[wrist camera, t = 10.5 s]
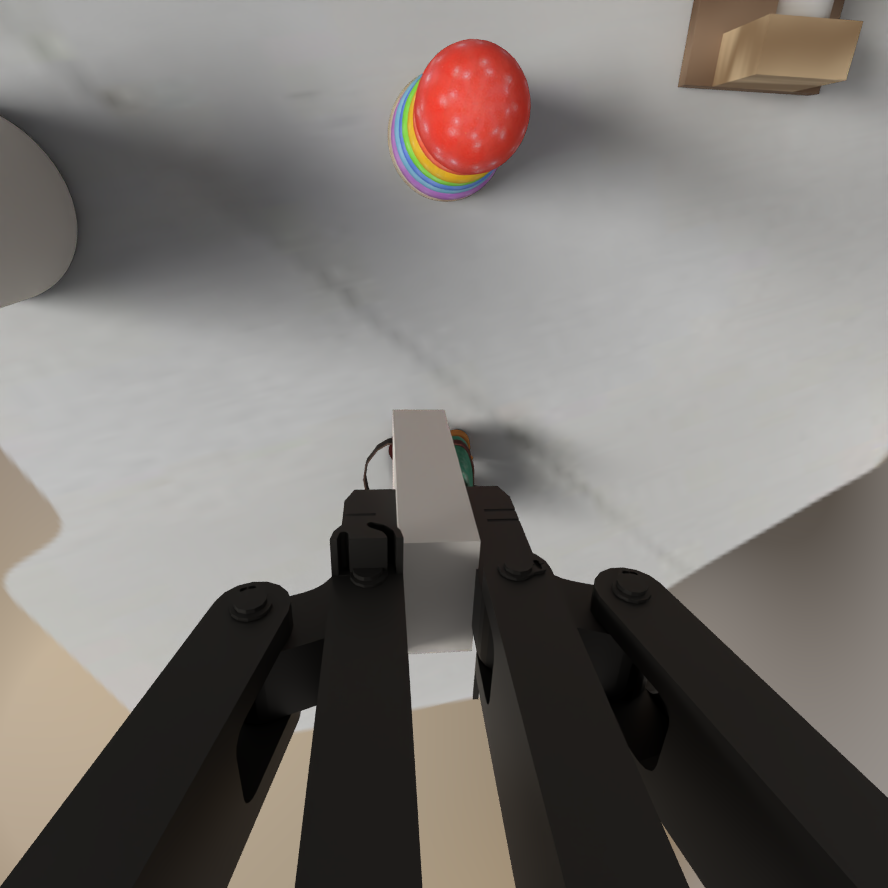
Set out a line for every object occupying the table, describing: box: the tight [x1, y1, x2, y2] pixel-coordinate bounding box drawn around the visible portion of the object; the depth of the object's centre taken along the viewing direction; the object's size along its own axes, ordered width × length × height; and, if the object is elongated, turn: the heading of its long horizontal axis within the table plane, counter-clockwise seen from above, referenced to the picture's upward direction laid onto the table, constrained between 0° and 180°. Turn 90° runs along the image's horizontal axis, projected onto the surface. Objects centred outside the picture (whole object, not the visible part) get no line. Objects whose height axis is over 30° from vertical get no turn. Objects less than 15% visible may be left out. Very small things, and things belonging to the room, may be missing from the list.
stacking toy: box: [388, 39, 531, 201], centre depth 31 cm, size 8×8×19 cm
